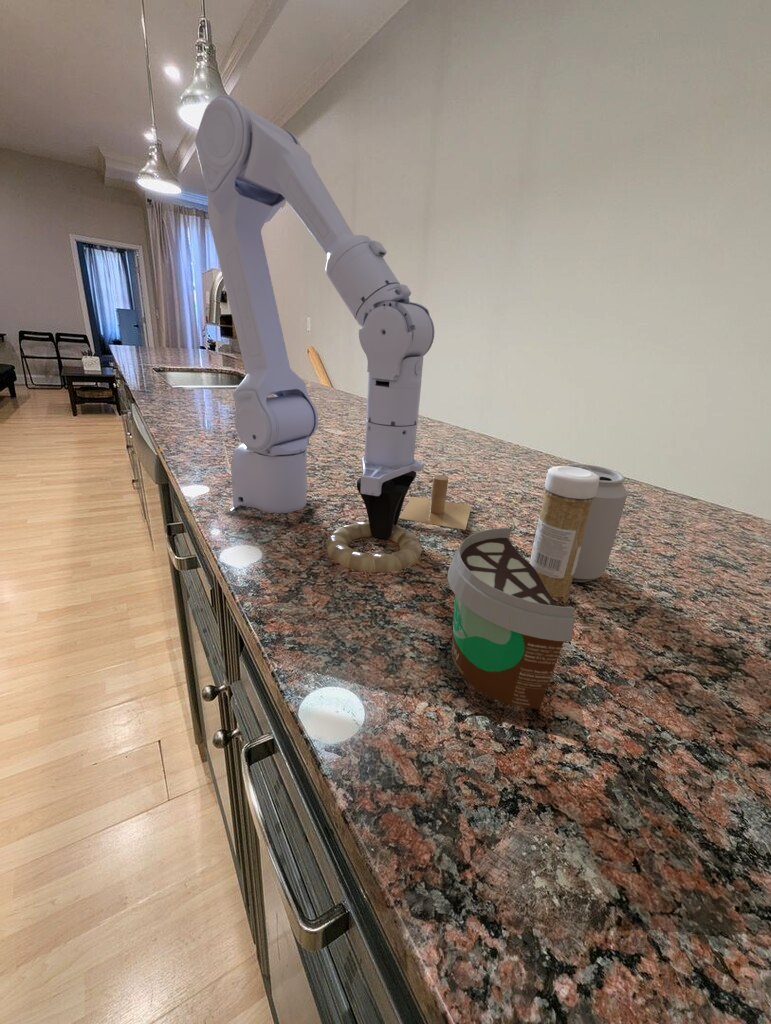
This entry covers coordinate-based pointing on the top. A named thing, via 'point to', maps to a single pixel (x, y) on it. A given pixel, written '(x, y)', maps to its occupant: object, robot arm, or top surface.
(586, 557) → the can
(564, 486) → the spice jar
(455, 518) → the post
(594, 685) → the top surface
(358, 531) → the ring
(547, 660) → the food container
